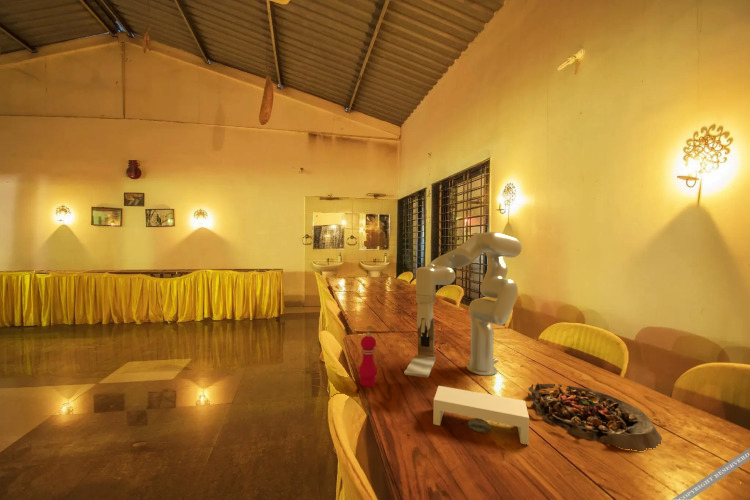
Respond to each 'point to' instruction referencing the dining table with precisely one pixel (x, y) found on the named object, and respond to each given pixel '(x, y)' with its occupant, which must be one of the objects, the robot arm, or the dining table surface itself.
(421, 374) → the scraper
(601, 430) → the food dish
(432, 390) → the dining table surface
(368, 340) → the pepper mill
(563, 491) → the dining table surface
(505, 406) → the cream footstool
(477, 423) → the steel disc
